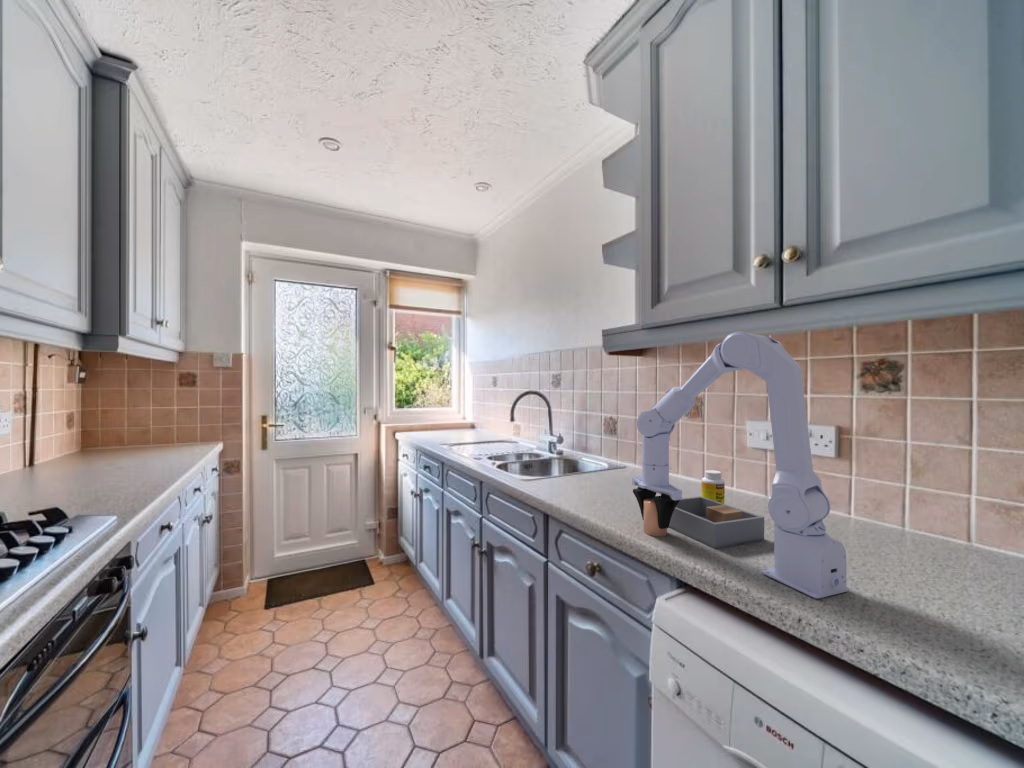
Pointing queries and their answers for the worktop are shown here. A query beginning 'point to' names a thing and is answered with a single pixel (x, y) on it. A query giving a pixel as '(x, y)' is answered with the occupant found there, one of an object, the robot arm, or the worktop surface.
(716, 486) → the supplement bottle
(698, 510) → the tote
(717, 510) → the walnut block
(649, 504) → the terracotta cylinder
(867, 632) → the worktop surface
